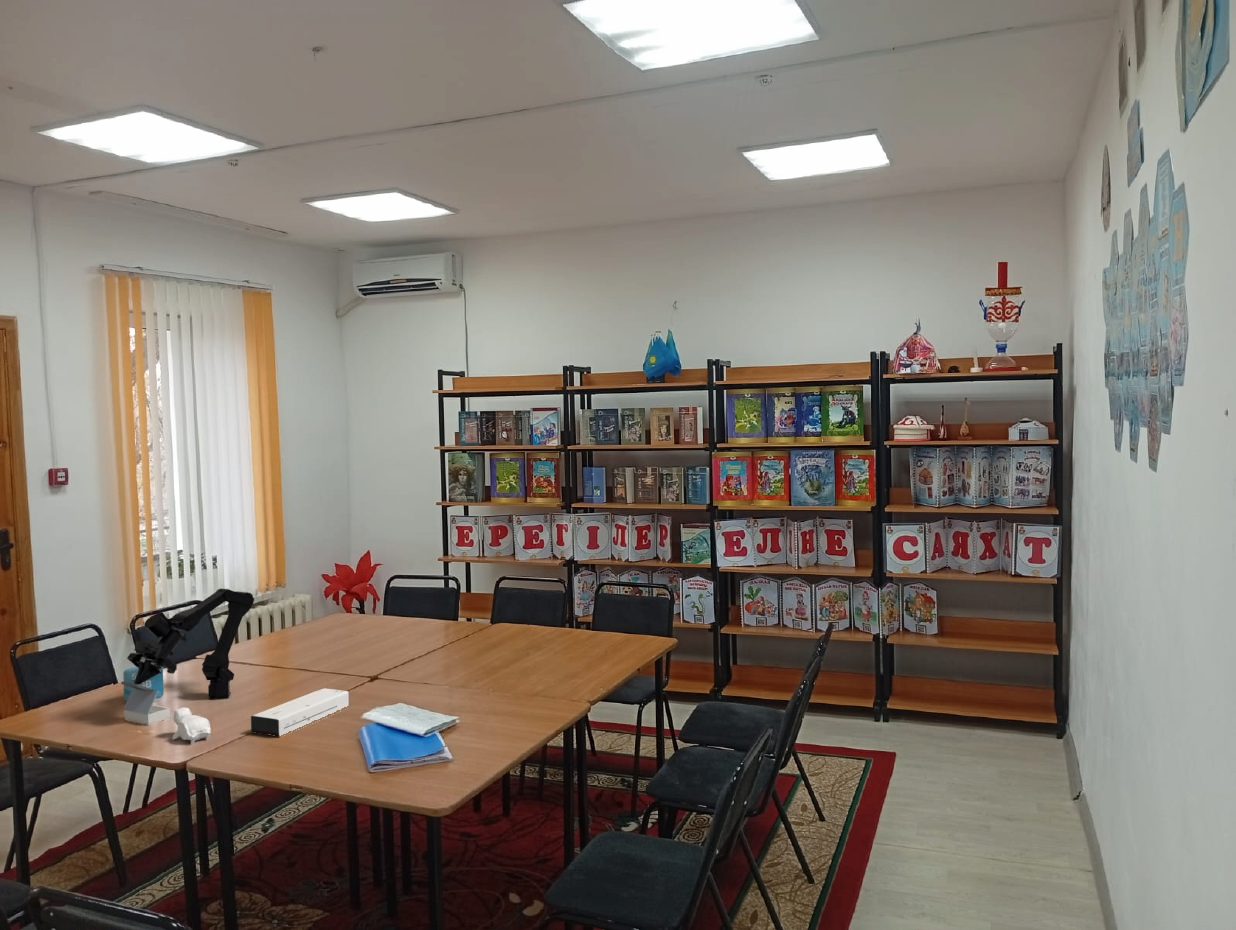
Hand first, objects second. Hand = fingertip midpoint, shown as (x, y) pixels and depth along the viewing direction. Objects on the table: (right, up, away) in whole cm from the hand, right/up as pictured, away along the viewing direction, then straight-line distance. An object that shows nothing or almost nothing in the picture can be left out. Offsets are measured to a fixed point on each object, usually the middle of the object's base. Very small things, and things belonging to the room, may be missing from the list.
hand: (135, 684), depth 301 cm
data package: (-11, -12, +27) cm, 32 cm away
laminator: (+54, -13, +3) cm, 55 cm away
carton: (+2, -13, +4) cm, 13 cm away
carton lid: (+1, -6, +2) cm, 6 cm away
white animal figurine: (+25, -14, -15) cm, 32 cm away
